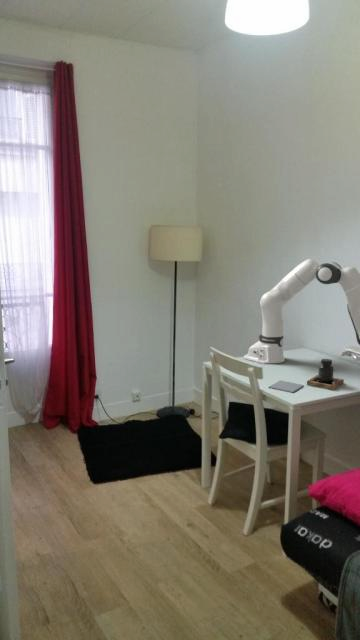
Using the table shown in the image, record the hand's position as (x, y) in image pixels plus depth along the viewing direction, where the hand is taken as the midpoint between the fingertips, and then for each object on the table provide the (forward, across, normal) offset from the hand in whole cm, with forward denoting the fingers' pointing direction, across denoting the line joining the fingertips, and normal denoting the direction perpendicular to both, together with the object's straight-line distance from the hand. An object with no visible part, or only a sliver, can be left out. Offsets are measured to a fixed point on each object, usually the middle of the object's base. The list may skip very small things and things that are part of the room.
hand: (348, 356), depth 255 cm
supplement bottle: (+12, 0, +12) cm, 18 cm away
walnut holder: (+12, 0, +12) cm, 17 cm away
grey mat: (+32, -4, +12) cm, 34 cm away
